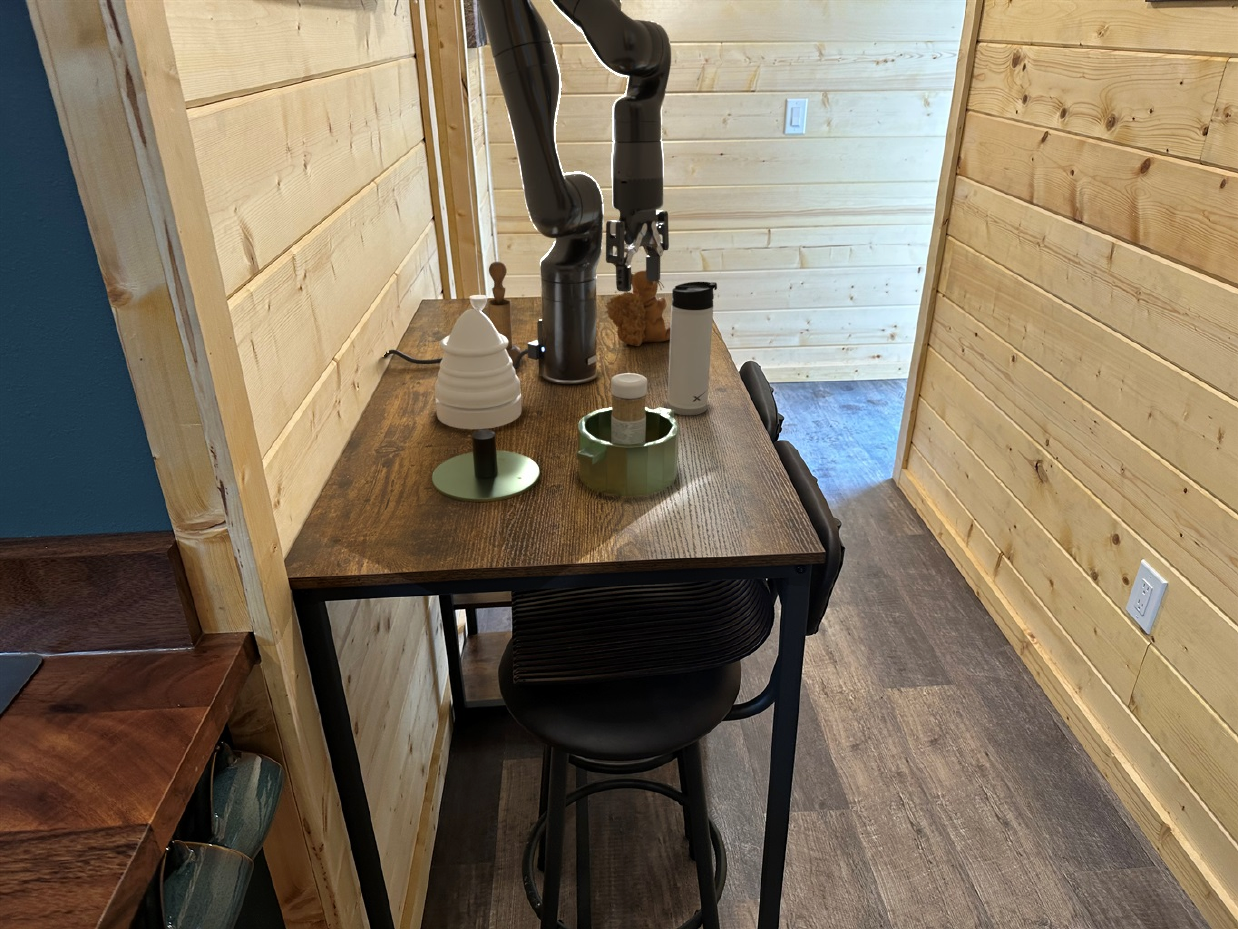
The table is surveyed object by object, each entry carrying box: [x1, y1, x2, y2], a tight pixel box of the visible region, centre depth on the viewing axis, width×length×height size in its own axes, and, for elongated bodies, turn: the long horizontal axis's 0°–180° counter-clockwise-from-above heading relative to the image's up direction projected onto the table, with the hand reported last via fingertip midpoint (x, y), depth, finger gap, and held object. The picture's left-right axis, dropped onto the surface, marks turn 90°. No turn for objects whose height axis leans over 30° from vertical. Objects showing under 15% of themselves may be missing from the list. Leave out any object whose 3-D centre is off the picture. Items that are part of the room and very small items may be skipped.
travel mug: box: [666, 281, 718, 416], centre depth 126 cm, size 6×7×20 cm
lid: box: [431, 429, 541, 503], centre depth 106 cm, size 14×14×7 cm
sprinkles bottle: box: [610, 372, 648, 444], centre depth 106 cm, size 5×5×13 cm
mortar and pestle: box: [487, 261, 522, 365], centre depth 145 cm, size 7×6×18 cm
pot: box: [576, 406, 680, 498], centre depth 108 cm, size 13×18×7 cm
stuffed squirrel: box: [604, 269, 671, 347], centre depth 159 cm, size 10×14×13 cm
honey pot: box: [433, 294, 523, 430], centre depth 123 cm, size 13×13×18 cm
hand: (638, 285), depth 127 cm, fingers open, 8 cm apart
